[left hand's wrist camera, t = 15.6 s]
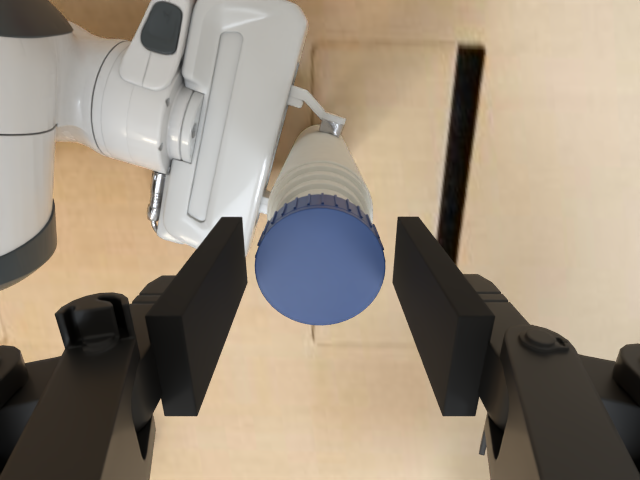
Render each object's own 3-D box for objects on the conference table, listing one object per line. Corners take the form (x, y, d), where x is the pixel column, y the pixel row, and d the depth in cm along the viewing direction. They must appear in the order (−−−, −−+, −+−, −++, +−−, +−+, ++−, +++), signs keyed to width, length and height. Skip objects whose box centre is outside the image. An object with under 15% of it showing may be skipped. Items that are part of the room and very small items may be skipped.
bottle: (357, 149, 37) (426, 257, 13) (322, 189, 38) (326, 350, 15) (317, 112, 35) (312, 157, 12) (282, 154, 37) (215, 270, 13)
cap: (281, 174, 13) (276, 186, 12) (398, 216, 14) (409, 233, 12) (246, 281, 15) (237, 304, 13) (353, 315, 15) (356, 341, 14)
